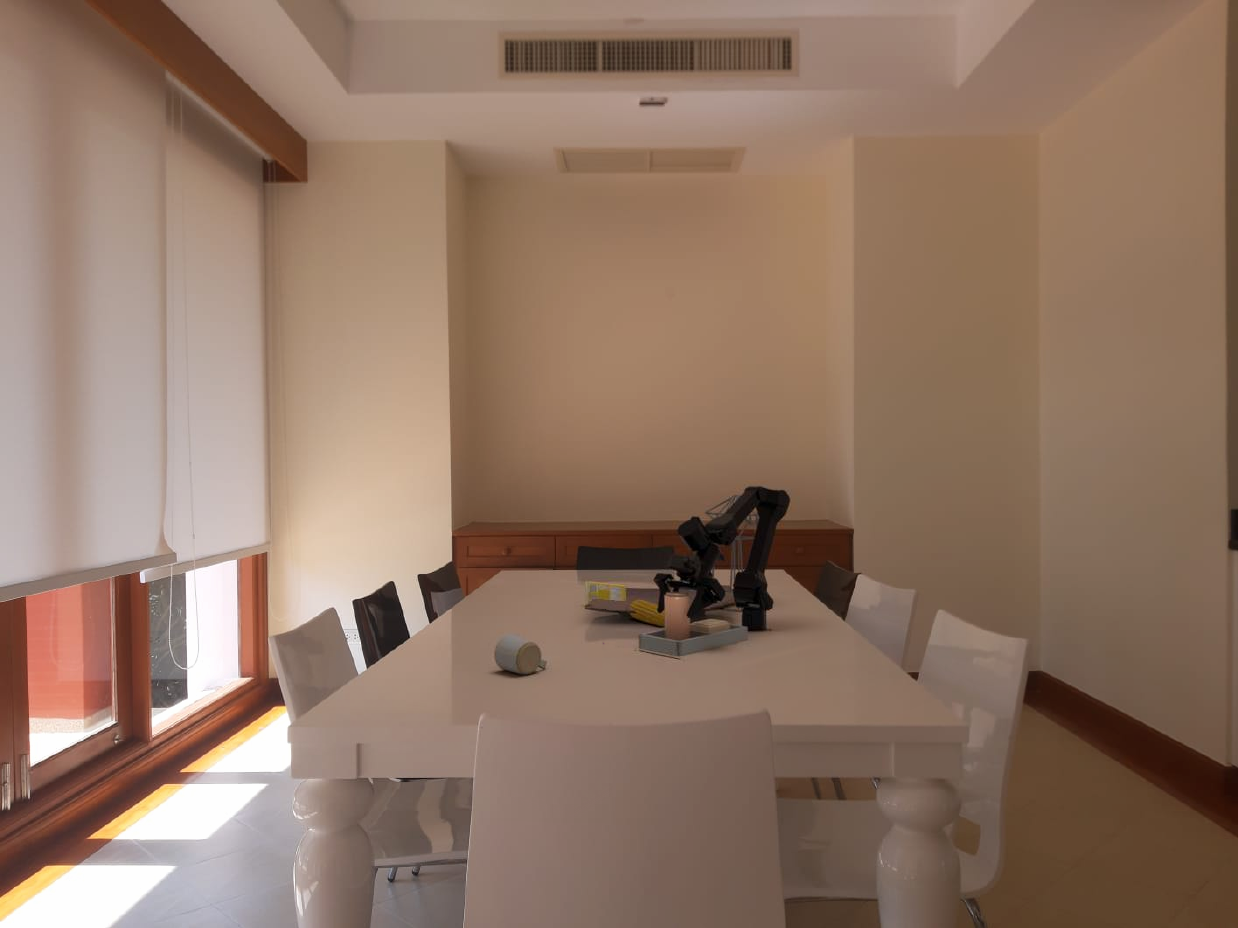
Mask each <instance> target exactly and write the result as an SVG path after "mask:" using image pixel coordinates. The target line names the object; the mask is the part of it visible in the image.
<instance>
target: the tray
mask: <svg viewBox="0 0 1238 928" xmlns="http://www.w3.org/2000/svg"><path fill="white" fill-rule="evenodd" d="M691 624H693V622H692V623H690V625H691ZM748 632H749V631H747V627H745V626H742V625H738V624H732V623H730V630H726V631H722V632H717V633H708V632H702V631H696V630H690V639H686V640H681V641H676V640H671V639H665V628H664V629H663V628H662V629H660V630H659V629H658V630H653V631H649V632H645V633H644V632H643V633H638V649H639V650H638V652H641V653H646V654H651V655H655V656H661V657H665V658H669V659H674V660H679V661H680V660H681V658H678V657H681V656H687V655H690V654H695V653H699V652H703V651H708V650H712V649H716V648H719V647H724V646H728V645H733V644H737V643H741V642H745V641H748V639H749V638H748V637H749V635H748ZM640 649H643V650H640ZM645 650H646V651H645ZM655 652H657V653H655ZM664 654H665V655H664ZM671 655H672V656H671ZM674 656H676V657H674Z"/></svg>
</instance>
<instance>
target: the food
mask: <svg viewBox="0 0 1238 928" xmlns="http://www.w3.org/2000/svg"><path fill="white" fill-rule="evenodd" d="M629 607H630V608H631V609H632V610H634V611H635V612H636V613H630V612H629V613H630V616H631V617H632V618H635V619H636V620H638V621H641V622H644V623H647V624H650V625H656V626H658V627H661V628H662V627H663V628H665V610H664V611H663V612H661V613H658V612H657V608H658V604H656V603H653V602H650V601H646V600H644V599H635V600H634V601H632V602H631V603H630V605H629Z"/></svg>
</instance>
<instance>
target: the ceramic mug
mask: <svg viewBox="0 0 1238 928" xmlns="http://www.w3.org/2000/svg"><path fill="white" fill-rule="evenodd" d="M541 651H542V650H541V648H540V647H539V646H538V644H537V643H535V642H534V641H532V640H529V639H525V638H523V637H520V636H518V635H515V634H506V635H504V636H502V637H501V638H500V639H499V640H498V642H497V643H496V645H495V647H494V662H495V664H496V665H497V667H498V668H500V669H502V670H504V671H507V672H511V673H515V674H520V675H531V674H533V673H534V672H536V670H537V669H538V667H539V668H543V669H545V668H547V667H546V666H547V664H548V661H546V660H544V659H542V652H541Z"/></svg>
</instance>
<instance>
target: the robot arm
mask: <svg viewBox="0 0 1238 928" xmlns="http://www.w3.org/2000/svg"><path fill="white" fill-rule="evenodd" d="M735 501H736V502H735ZM735 501H734V503H733V505H732V504H731V505H730V507H729V509H728V510H727V511H726V512H725V511H724V512H725V513H724V512H723V513H724V514H723V515H718V517H714V519H710V521H708V522H707V523H705V524H703V522H702V519H701V518H700V517H699V516H691V518H690V519H688V520H686V521H684V522H682V524H680V525H679V526H678V528H677V531H676V532H677V535H678V537H680V539H681V540H682V541H683V543H684V544H685V546H686V547H687V549H688V550H689V551H690V552H691V551H692V552H694V553H693V554H689V556H687V555H683V554H682V555H681V554H671V556H670V559H669V562H668V566H667V568H668V569H671V570H673V571H675V572H676V573H675V574H676V576H677V578H679V579H675V578H674V576H673V575H672V573H668V572H658V573H656V574H655V576H654V577H653V581H652V582H654V583H655V585H656V587H657V588H659V597H658V603H657V605H658V608H657V612H658V613H661V612H663V611H664V610H665V595H666V593H667V592H671V591H680V590H688V591H691V592H696V593H695V596H694V598H693V600H692V602H691V603H690V608H689V610H688V612H687V617H688V618H690V619H691V618H692V617H694V616H695V615H697V614H698V613H699V612H702V611H703V610H705V609H706V608H708V607H710V606H711V605H713V604H717V603H718V602H719V601H720V602H722V600H724V599H725V597H726V596H725V594H726V592H725V590H726V589H725V588H724V587H723V585H722V584H721V582H719V580H718V578H715V577H714V578H712V576H713V574H712V569H713V567H714V568H715V565H716V564H717V561H718V562H720V561H721V562H725V555H724V551H723V549H720V548H719V547H718V546H723V547H724V546H725V547H729V546H732V543H733V541H734V539H735V538H736V536H739V527H740V526H741V524H742V523H744V521H745V519H746V518H747V519H748V517H749V516H748V515H749V514H752V513H753V512H752V511H754V510H756V513H758V518H759V521H758V524H757V527H756V528H755V531H756V532H755V531H754V536H753V537H754V539H752V544H751V548H750V550H749V551H750V552H749V554H748V555H749V556H748V560H747V563H746V566H745V568H744V569H743V572H741V571H740V572H738V571H737V572H736V573H735V582H734V581H733V583H732V587H733V588H732V590H733V591H732V595H733V596H734V597H733V599H734V600H733V601H734V603H735V604H736V606H735V608H737V609H738V608H739V609H740V608H743V609H742V611H741V626H745V627H747V632H761V631H769V632H771V631H772V628H767V611H771V610H773V607H774V606H773V605H774V599H773V598H772V596H771V595H770V594H769V592H768V581H767V579H766V575H765V571H766V568H767V564H768V560H769V556H770V552H771V549H772V545H773V540H774V536H775V533H776V529H777V525H778V523H779V522H780V521H781V520H782V519H784V517H785V516H786V515H787V511H788V510H789V509H788V508H789V506H790V504H791V498H790V496H789V494H788V493H787V491H786V490H785V489H771V488H767V487H764V486H762V485H759V486H757V485H754V486H753V485H748V486H747V487H745V489H744V492H743V493H742V494H741V496H740V497H739V498H738V499H737V500H736V499H735ZM720 602H719V603H720ZM722 603H723V602H722Z"/></svg>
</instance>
